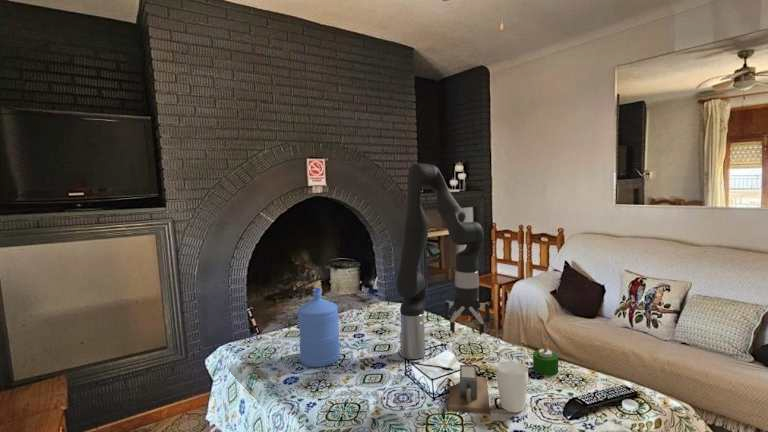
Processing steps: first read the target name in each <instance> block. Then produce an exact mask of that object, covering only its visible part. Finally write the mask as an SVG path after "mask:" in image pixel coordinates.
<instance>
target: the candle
mask: <svg viewBox="0 0 768 432" xmlns="http://www.w3.org/2000/svg"><path fill="white" fill-rule="evenodd" d="M542 347H543V348H541V349H538V350H536V351H535V350H534V351H533V353H532V370H533V371H534V372H535V373H536V374H539V375H541V376H547V377H549V376H550V377H551V376H556V375H558V374H559V355H558V354H557V353H556V352H553V351H551V350H550V349H548V343H547V342H544V343H543V345H542Z"/></svg>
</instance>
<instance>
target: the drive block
mask: <svg viewBox="0 0 768 432" xmlns="http://www.w3.org/2000/svg"><path fill="white" fill-rule="evenodd" d="M476 367H477V366H476V365H471V364H460V365H459V375H460V398H462V399H467V388H470V389H471V399H476V400H477V377H478V376H477V368H476Z"/></svg>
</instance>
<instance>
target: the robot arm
mask: <svg viewBox="0 0 768 432" xmlns="http://www.w3.org/2000/svg"><path fill="white" fill-rule="evenodd" d="M406 185H407V189H406V190H407V192H406V195H407V196H406V212H405V218H404V219H405V220H404V229H403V237H402V241H403V242H402V246H401V257H400V265H399V268H398V269H399V270H398V273H397V278H396V290H397V293H398V295H399V297H402V298H403V301H402V303H401V305H400V307H399V309H400V310H399V312H400V337H399V340H400V341H399V342H400V358H402V359H406V358H407V359H406V360H409V359H418V360H420V359H419V358H421V359H424V357H425V356H426V338H425V336H426V335H425V334H426V333H425V330H426V329H425V305H426V301H427V300H426V298H427V296H426V295H427V292H426V291H427V285H426V279H425V277H424V275H423V274H422V273H421V272H420V271H419V265H420V261H421V258H422V255H423V254H424V251H425V249H426V246H427V243H428V237H429V229H430V228H429V227H430V225H429V220H428V218H427V215H426V213H425V209H424V207H423V206H422V203H421V200H422V199H421V194H422V193H421V191H422V190H431V191H433V193H434V194H435V195H436V198H435V199H436V200H435V206H436V210H437V213H438V214H439V215H440V216H441V218H442V220H443V222H445V224H446V228H447V231H448V235H449V238H450V240H451V242H452V243H454V244H455V245H457V246H465V245H466V246H465V248H464V249H463V250H461V251H459V252H457V253H456V254H455V273H454V301H451V300H449V299H446V300H445V302H444V315H443V317H444V318H443V319H444V320H445V321H449V330H450V332H452V334H456V333H455V332H456V326H455V323H456V320H457V318H458V317H459V316H460V315H461V316H462V317H465V316H466V317H467V316H468V317H473V316H474V317H475V319H476V320H477V321H478V323H479V324H478V326H479V327H478V331H479V332H478V334H479V336H482V335H483V334H484V332H485V329H484V328H485V326H484V325H485V324H486V323H490V322H491V319H490V317H491V316H490V303H489V302H488V301H485V302H480V296H479V295H480V277H479V256H480V253H481V249H482V245H483V241H484V236H485V233H484V229H483V226H482V225H481V224H480V223H479V222H476V221H469V222H467V221H466V222H464V221H465V220H466V214H465V211H464V210H463V209H462V207H461V206H460V205H459V203H458V202H457V200H456V199H455V198H454V196H453V195H452V193H451V191H450V189H449V187H448V185H447V183H446V181H445V179H444V176H443V175H442V173H441V171H440V169H439V168H438V167H437V166H436V165H434V164H429V163H418V162H416V163H415V162H414V163H413V164H411V165H410V167H409V169H408V171H407V184H406ZM452 306H453V307H454V308H455V310H454V312H453V313H452V315H450V313H449V312H450V309H451V308H452ZM481 308H482V310H483V311H484V313H485V317H483V316H482V315H481V314H480V312H479V309H481Z"/></svg>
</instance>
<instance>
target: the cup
mask: <svg viewBox="0 0 768 432" xmlns="http://www.w3.org/2000/svg"><path fill="white" fill-rule="evenodd" d="M528 370H529V369H528V367H527V366H526V365H525V364H523V363H520V362H518V361H517V362H516V361H511V360H510V361H509V360H505V361H500V362H499V363H498V364H497V365H496V382H497V389H498V394H499V400H500V406H501V408H502V409H503V410H504V411H507V412H510V413H516V414H517V413H520V412H523V411H524V410H525V404H526V399H527V393H528V392H527V391H528V385H529V372H528Z"/></svg>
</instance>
